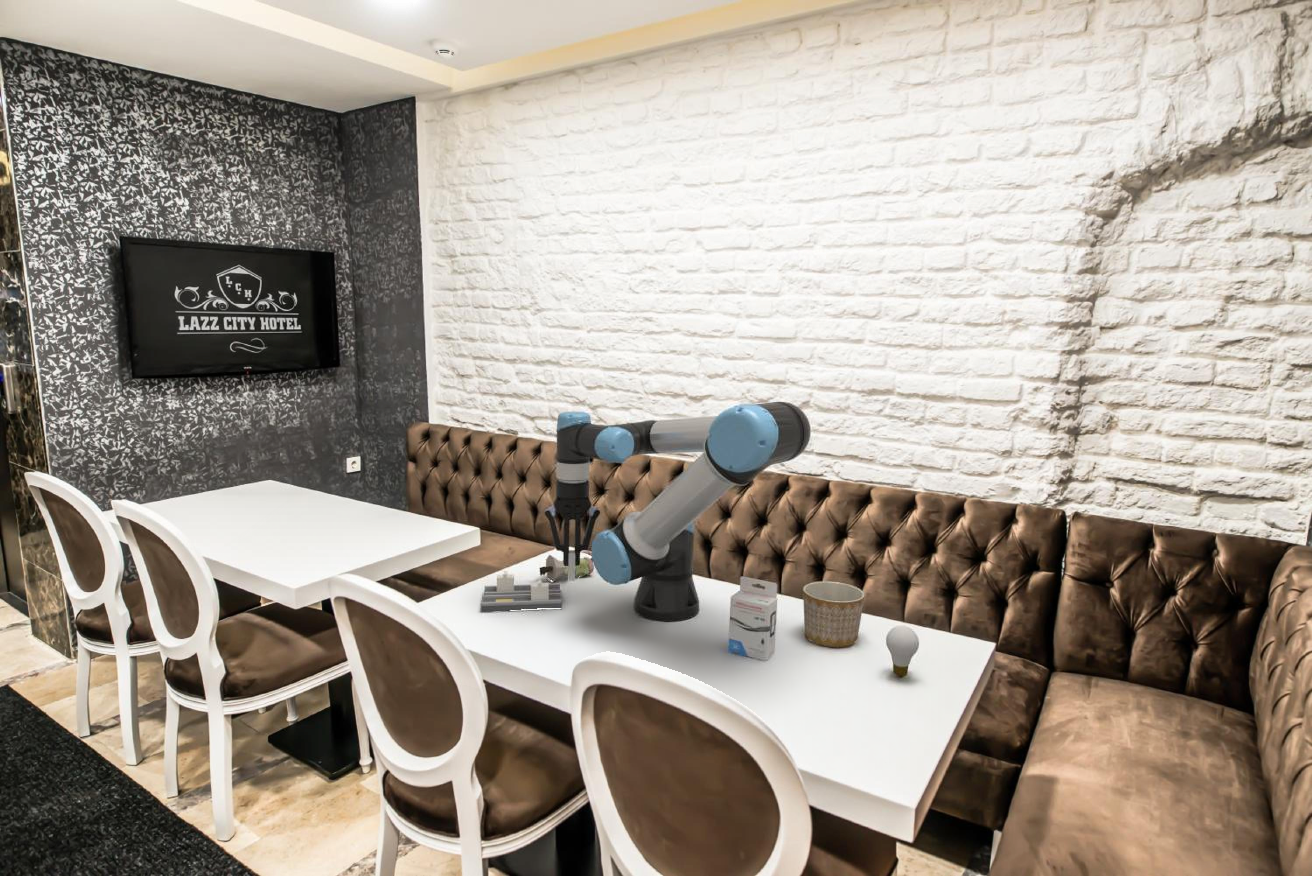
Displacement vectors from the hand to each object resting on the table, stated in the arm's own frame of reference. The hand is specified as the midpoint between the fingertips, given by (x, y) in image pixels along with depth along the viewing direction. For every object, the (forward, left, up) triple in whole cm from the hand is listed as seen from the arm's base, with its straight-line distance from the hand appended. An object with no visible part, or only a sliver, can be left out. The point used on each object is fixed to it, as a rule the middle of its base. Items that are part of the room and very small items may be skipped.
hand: (571, 578), depth 175 cm
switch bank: (+11, -3, -6) cm, 13 cm away
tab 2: (+7, 0, -5) cm, 9 cm away
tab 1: (+15, -7, -5) cm, 17 cm away
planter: (-54, +25, -7) cm, 60 cm away
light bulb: (-60, +44, -7) cm, 75 cm away
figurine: (-1, -18, -7) cm, 19 cm away
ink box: (-35, +30, -7) cm, 47 cm away
